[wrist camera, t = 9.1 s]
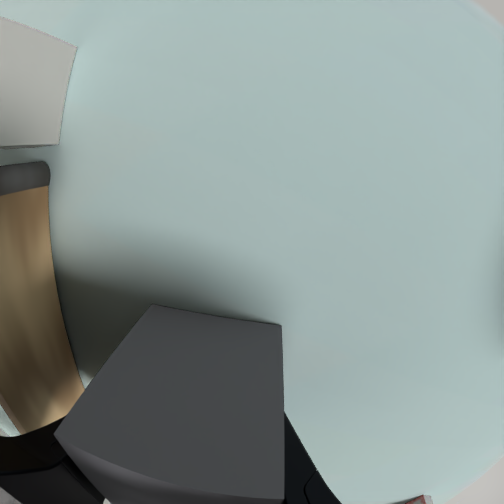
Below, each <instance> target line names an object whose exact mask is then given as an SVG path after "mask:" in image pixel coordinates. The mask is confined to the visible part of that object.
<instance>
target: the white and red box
mask: <svg viewBox="0 0 504 504" xmlns="http://www.w3.org/2000/svg"><path fill="white" fill-rule="evenodd" d="M405 504H433V501H432V498H431V496H428V495H422V496H420V497H418V498H416V499H414V500H412V501H410V502H408V503H405Z"/></svg>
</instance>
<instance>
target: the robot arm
mask: <svg viewBox="0 0 504 504" xmlns="http://www.w3.org/2000/svg"><path fill="white" fill-rule="evenodd" d="M65 417H66V416H64V417H62V418H60V419H58V420H56V421H54V422H52V423H50V424H48V425H46V426H43V427H41V428H38V429H36V430H33V431H30V432H28V433H25V434H22V435H19V436H15V437H5V436H0V504H103V503H104V500H105V497H104V496H103V495H102V494H101V493H100V492H99V491H98V490H97V489H96V487H95V486H94V485H93V484H92V483H91V482H90V481H89V480H88V479H87V477H86V476H85V475H84V474H83V473H82V471H81V470H80V469H79V468H78V467H77V465H76V464H75V463H74V462H73V460H72V459H71V458H70V456H69V455H68V454H67V452H66V451H65V450H64V448H63V447H62V446H61V444H60V443H59V441H58V440H57V438H56V437H55V436H54V433H55V431H56V430H57V428H58V427H59V425H60V424H61V423H62V421H63V420H64V418H65ZM316 470H317V468H316V467H315V465H314V463H313V462H312V460H311V458H310V456H309V455H308V453H307V451H306V450H305V448H304V446H303V444H302V443H301V441H300V439H299V437H298V435H297V434H296V432H295V430H294V428H293V426H292V425H291V423H290V421H289V419H288V417H287V416H286V414H285V412H284V500H283V501H282V503H281V504H342V503H341V502H340V501H339V500H338V499H337V498H336V496H335V495H334V494H333V493H332V491H331V490H330V489H329V487H328V486H327V484H326V483H325V481H324V480H323V478H322V477H321V475H320V473H319V472H318V471H316Z"/></svg>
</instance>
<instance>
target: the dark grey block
mask: <svg viewBox="0 0 504 504" xmlns="http://www.w3.org/2000/svg"><path fill="white" fill-rule="evenodd" d="M54 436H55V437H56V438H57V440H58V441H59V443H60V444H61V446H62V447H63V448H64V450H65V451H66V452H67V454H68V455H69V456H70V458H71V459H72V460H73V462H74V463H75V464H76V465H77V467H78V468H79V469H80V470H81V471H82V473H83V474H84V475H85V476H86V477H87V479H88V480H89V481H90V482H91V483H92V484H93V485H94V486H95V487H96V489H97V490H98V491H99V492H100V493H101V494H102V495H103V496H104V497H105V498H106V499H107V500H108V501H109V502H110V503H111V504H281V503H282V501H283V500H284V384H283V350H282V326H281V325H273V324H265V323H258V322H251V321H244V320H237V319H231V318H225V317H218V316H213V315H207V314H201V313H195V312H190V311H185V310H180V309H174V308H169V307H165V306H160V305H155V304H151V306H150V307H149V308H148V309H147V310H146V312H145V313H144V314H143V315H142V317H141V318H140V319H139V320H138V321H137V323H136V324H135V325H134V326H133V328H132V329H131V330H130V331H129V333H128V334H127V335H126V337H125V338H124V339H123V340H122V342H121V343H120V344H119V345H118V347H117V348H116V349H115V351H114V352H113V353H112V354H111V356H110V357H109V358H108V360H107V361H106V362H105V364H104V365H103V366H102V367H101V369H100V370H99V371H98V373H97V374H96V375H95V377H94V378H93V379H92V381H91V382H90V383H89V385H88V386H87V388H86V389H85V390H84V392H83V393H82V394H81V396H80V397H79V399H78V400H77V401H76V403H75V404H74V405H73V407H72V408H71V410H70V411H69V413H68V414H67V415H66V417H65V418H64V420H63V421H62V423H61V424H60V425H59V427H58V428H57V430H56V431H55V433H54Z"/></svg>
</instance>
